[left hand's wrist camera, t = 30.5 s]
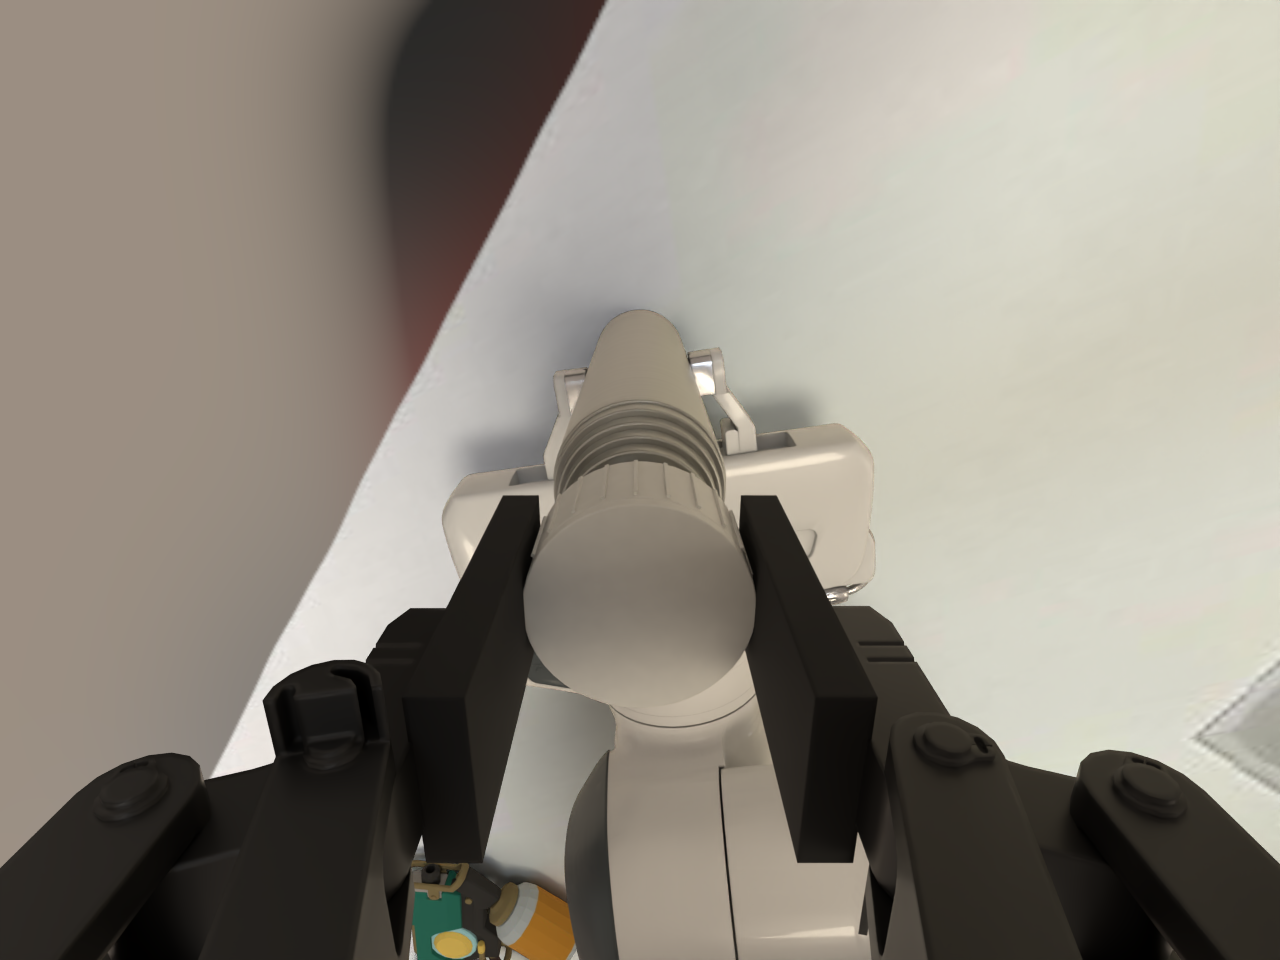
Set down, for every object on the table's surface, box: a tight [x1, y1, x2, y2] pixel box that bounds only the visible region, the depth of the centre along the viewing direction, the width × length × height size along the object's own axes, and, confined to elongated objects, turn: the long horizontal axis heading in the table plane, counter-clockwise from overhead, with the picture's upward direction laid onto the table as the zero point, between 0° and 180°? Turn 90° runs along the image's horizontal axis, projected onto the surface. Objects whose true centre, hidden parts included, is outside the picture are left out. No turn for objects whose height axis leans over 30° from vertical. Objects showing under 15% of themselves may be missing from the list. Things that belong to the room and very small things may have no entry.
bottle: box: [553, 310, 726, 502], centre depth 25 cm, size 5×5×26 cm
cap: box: [523, 460, 756, 708], centre depth 14 cm, size 4×4×2 cm
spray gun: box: [411, 860, 576, 960], centre depth 51 cm, size 4×17×15 cm
